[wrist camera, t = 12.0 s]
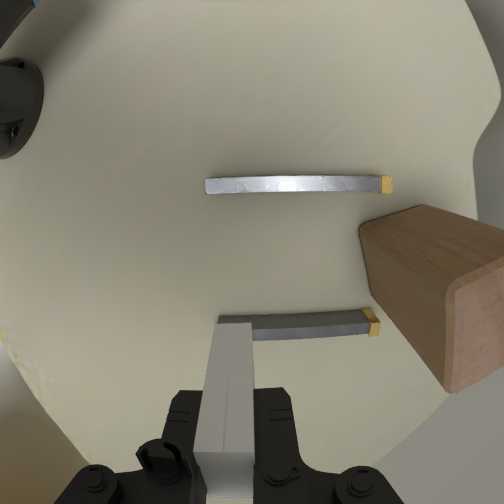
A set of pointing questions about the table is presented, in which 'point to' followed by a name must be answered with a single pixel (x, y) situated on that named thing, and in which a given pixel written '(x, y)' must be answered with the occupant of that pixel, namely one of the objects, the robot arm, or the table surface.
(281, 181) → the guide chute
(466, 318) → the wooden block
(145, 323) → the table surface
